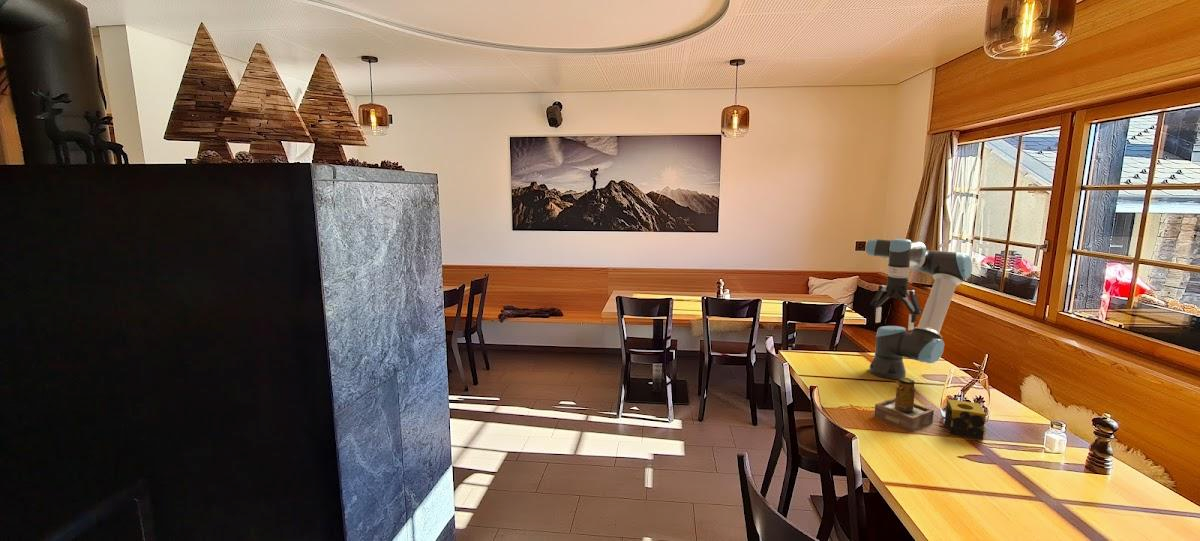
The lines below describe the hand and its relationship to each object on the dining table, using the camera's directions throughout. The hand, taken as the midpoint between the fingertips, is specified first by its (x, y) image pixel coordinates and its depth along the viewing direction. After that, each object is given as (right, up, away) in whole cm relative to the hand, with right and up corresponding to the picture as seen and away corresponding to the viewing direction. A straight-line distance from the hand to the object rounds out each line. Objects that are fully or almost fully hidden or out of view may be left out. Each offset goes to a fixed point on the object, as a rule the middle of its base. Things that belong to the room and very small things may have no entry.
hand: (893, 325), depth 206 cm
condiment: (-7, -30, -19) cm, 37 cm away
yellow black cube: (+9, -36, -27) cm, 46 cm away
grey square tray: (-7, -34, -18) cm, 39 cm away
